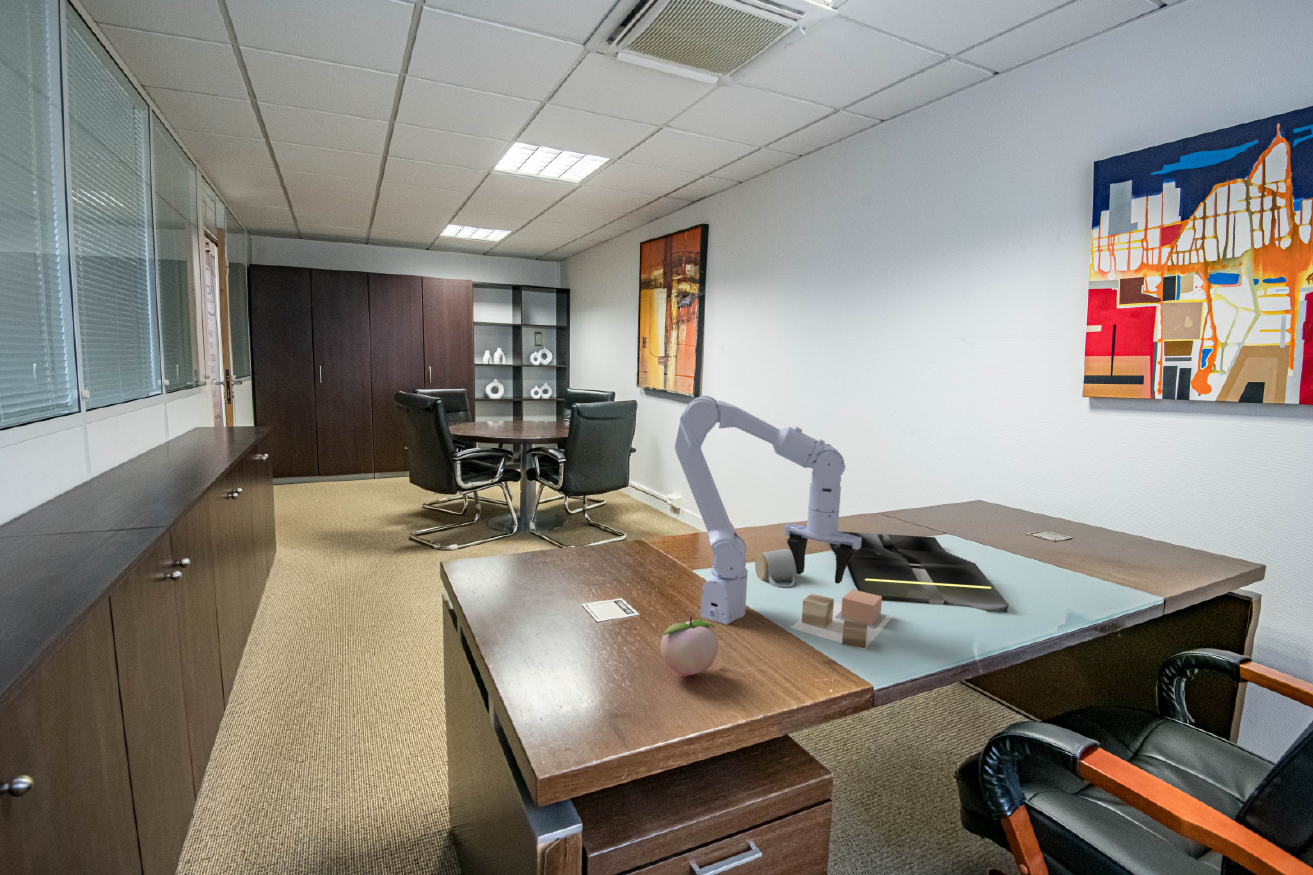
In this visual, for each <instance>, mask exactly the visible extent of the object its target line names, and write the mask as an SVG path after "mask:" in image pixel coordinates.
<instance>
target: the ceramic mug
mask: <svg viewBox="0 0 1313 875" xmlns="http://www.w3.org/2000/svg"><path fill="white" fill-rule="evenodd" d="M754 568H755V573H756V577H757V578H758V579H759V580H760V581H763V582H767V583H768V582H769V584H770V585H771V586H772V587H775V588H780V589H781V588H783V589H784V588H785V589H787V588H788V589H789V588H792V587H793V586H794V585H795V581H796V577H797V575H798V574H797V572H796V566H795V561H794V557H793V554H792V552H791V550H790V548H784V549H783V548H782V549H776V550H771V551H770V550H769V551H763V552H760V553H757V555H756V558H755V559H754ZM777 582H791V583H790V584H789V585H781V584H778V583H777Z"/></svg>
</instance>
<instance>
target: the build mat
mask: <svg viewBox="0 0 1313 875" xmlns="http://www.w3.org/2000/svg"><path fill="white" fill-rule="evenodd" d="M841 611H842V603H840V602H837V601H834V607H833V620H832V622H831V623H830V624H829V625H828V626H827V627H826V628H825V629H823V628H820V627H816V626H813V625H809V624H806V623H802V617H801V618H799V620H798V621H797V622H795V623H794V624H793V625H792V626H791V627H790V629H793V630H796V631H800V632H803V633H807V634H810V635H813V636H817V637H819V638H820V637H821V638H823V639H826V640H831V641H833V642H837V643H840V644H842V637H843V627H844V620H849V619H845V618H842V617H841ZM892 618H893V616H890V615H887V614H884V613H881V616H880V617H879V618H878V619H877V620H876V621H875V622H874V624H873V625H872V626H871V625H867V635H866V648H860V647H856V648H857V649H860V650H863V651H864V650H866V649H867V648H868V647H869V645H870V644H871V643H872V641H873V640H874V639H876V638H877V636H878V634H879V633H880V632H881V631H882V630H883V629H884V627H885V626H886V625H887V624H888V622H889V621H890V620H891V619H892ZM849 621H853V620H849ZM855 622H856V621H855ZM852 647H853V648H855V647H854V646H852Z"/></svg>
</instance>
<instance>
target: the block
mask: <svg viewBox="0 0 1313 875" xmlns="http://www.w3.org/2000/svg"><path fill="white" fill-rule="evenodd" d="M866 635H867V623H861V622H855V621H849V620H844V627H843V637H842V643H841V644H842V645H845V646H849V647H853V646H854V647H853V648H857V647H860V648H866ZM860 648H859V649H860ZM866 649H867V648H866Z"/></svg>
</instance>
